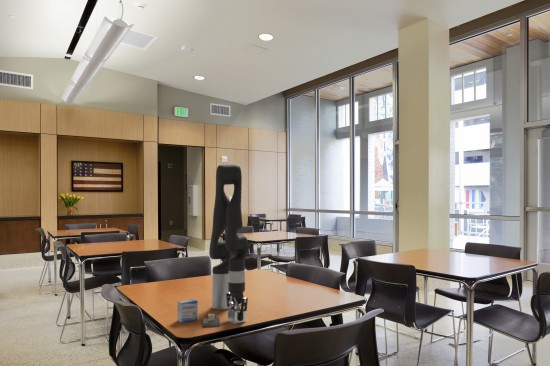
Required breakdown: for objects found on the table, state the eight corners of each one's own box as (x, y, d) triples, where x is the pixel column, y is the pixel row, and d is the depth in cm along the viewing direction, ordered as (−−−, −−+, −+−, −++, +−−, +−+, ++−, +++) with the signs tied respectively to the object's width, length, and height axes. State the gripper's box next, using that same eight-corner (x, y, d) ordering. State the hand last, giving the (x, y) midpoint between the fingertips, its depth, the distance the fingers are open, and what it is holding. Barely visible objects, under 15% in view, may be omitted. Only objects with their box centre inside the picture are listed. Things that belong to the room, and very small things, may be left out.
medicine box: (181, 323, 170) (181, 303, 170) (177, 320, 173) (177, 301, 174) (197, 320, 174) (197, 300, 175) (193, 317, 178) (193, 298, 178)
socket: (227, 321, 172) (227, 309, 173) (238, 318, 176) (238, 307, 176) (234, 324, 168) (234, 312, 168) (245, 321, 172) (245, 310, 172)
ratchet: (203, 316, 179) (203, 307, 179) (219, 315, 180) (219, 307, 180) (203, 327, 164) (203, 317, 164) (219, 326, 165) (219, 316, 166)
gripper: (253, 281, 170) (253, 321, 169) (234, 277, 181) (234, 313, 180) (238, 284, 165) (238, 324, 164) (220, 279, 176) (220, 317, 175)
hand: (236, 318), depth 172 cm, fingers open, 5 cm apart
